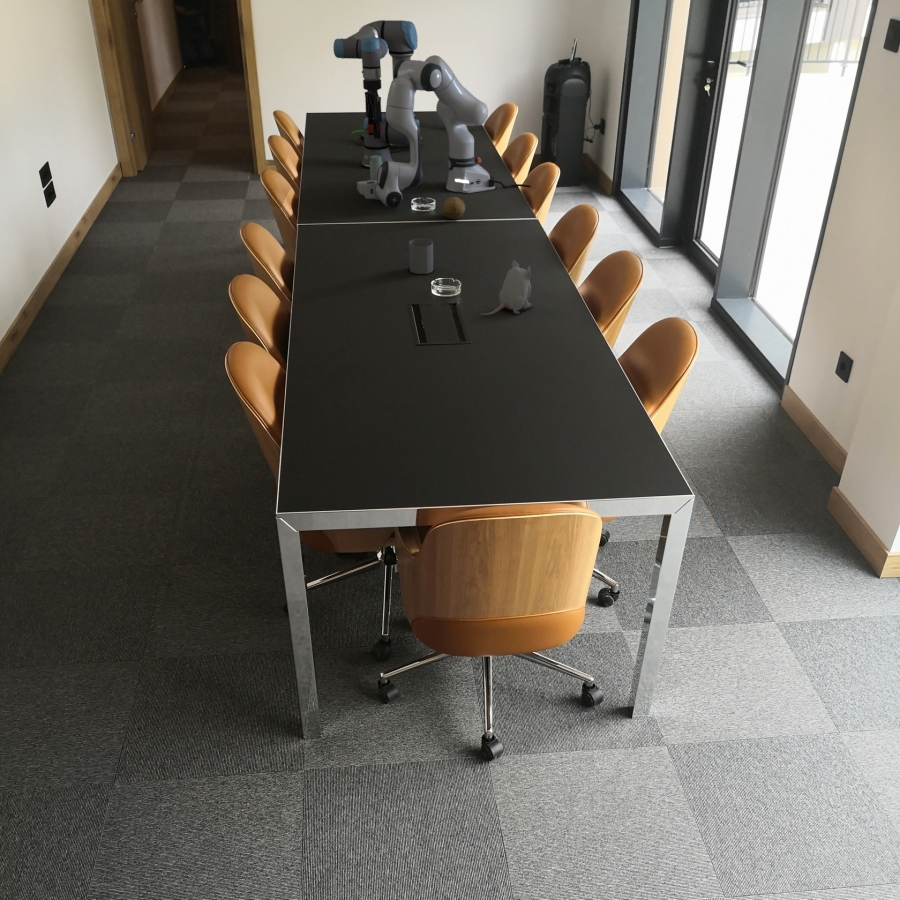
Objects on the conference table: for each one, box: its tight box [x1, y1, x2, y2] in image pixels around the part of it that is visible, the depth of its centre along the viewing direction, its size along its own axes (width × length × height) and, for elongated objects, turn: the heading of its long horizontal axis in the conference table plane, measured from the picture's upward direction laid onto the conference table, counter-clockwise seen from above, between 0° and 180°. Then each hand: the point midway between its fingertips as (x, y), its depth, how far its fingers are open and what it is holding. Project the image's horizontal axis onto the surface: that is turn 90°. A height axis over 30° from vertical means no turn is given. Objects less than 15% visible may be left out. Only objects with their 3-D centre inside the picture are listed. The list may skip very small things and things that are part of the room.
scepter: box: [349, 129, 365, 146], centre depth 465 cm, size 6×13×30 cm
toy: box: [481, 259, 533, 316], centre depth 272 cm, size 9×24×15 cm, turn 137°
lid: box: [367, 124, 382, 133], centre depth 369 cm, size 6×6×2 cm
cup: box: [408, 237, 434, 275], centre depth 305 cm, size 8×8×10 cm
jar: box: [369, 155, 383, 181], centre depth 380 cm, size 6×6×17 cm
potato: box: [441, 196, 466, 220], centre depth 355 cm, size 10×14×8 cm
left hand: (374, 136), depth 371 cm, fingers closed on lid, 6 cm apart
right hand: (376, 180), depth 381 cm, fingers closed on jar, 5 cm apart
